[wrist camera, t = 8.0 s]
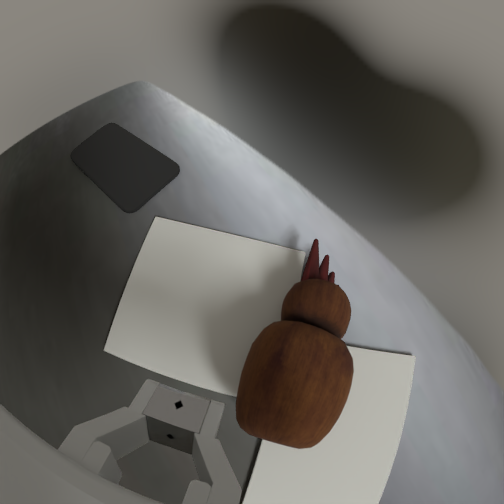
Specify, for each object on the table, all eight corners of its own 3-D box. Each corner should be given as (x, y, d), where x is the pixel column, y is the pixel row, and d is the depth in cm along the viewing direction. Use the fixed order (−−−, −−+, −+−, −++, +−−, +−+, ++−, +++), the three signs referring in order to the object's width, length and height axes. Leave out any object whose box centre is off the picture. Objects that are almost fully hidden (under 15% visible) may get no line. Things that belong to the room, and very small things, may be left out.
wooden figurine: (230, 425, 11) (309, 212, 20) (212, 421, 15) (281, 254, 24) (348, 457, 11) (384, 253, 20) (302, 451, 15) (346, 286, 24)
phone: (128, 215, 24) (67, 154, 27) (131, 220, 25) (69, 159, 28) (184, 167, 26) (111, 120, 30) (185, 172, 27) (113, 124, 31)
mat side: (106, 351, 19) (103, 350, 18) (156, 218, 24) (155, 216, 24) (271, 404, 18) (272, 404, 18) (304, 254, 23) (305, 252, 23)
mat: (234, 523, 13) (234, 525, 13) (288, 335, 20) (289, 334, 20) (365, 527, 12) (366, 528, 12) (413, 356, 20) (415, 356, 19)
